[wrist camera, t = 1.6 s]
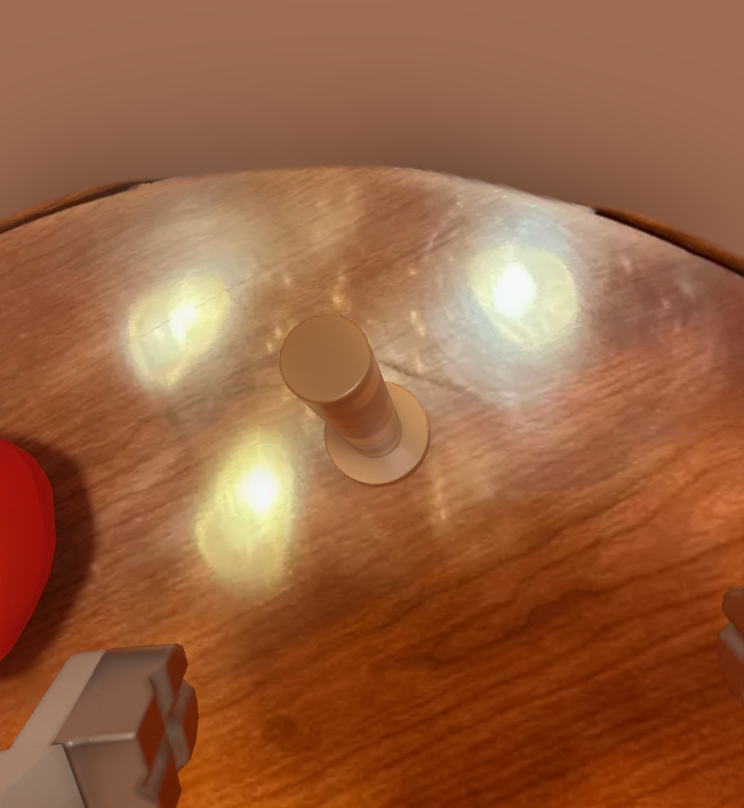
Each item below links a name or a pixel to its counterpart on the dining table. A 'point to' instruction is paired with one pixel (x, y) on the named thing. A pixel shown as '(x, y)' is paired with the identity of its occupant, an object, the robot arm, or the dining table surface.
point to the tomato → (23, 540)
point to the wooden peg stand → (354, 401)
